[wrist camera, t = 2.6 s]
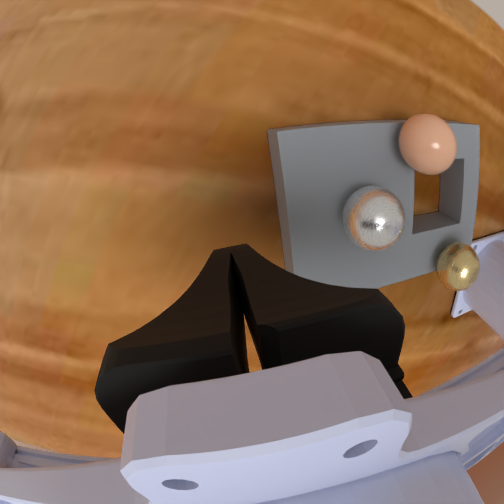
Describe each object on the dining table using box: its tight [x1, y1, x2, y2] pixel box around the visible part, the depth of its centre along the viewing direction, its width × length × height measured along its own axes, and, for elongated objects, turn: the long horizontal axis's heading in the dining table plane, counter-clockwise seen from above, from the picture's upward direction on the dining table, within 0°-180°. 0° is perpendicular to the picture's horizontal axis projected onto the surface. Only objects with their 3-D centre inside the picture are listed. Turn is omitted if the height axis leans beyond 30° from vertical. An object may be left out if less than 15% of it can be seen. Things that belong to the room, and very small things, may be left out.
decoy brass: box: [436, 242, 480, 291], centre depth 16 cm, size 3×3×3 cm
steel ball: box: [342, 186, 405, 251], centre depth 14 cm, size 3×3×3 cm
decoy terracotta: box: [399, 113, 457, 175], centre depth 12 cm, size 3×3×3 cm
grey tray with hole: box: [267, 120, 480, 289], centre depth 17 cm, size 14×10×2 cm
